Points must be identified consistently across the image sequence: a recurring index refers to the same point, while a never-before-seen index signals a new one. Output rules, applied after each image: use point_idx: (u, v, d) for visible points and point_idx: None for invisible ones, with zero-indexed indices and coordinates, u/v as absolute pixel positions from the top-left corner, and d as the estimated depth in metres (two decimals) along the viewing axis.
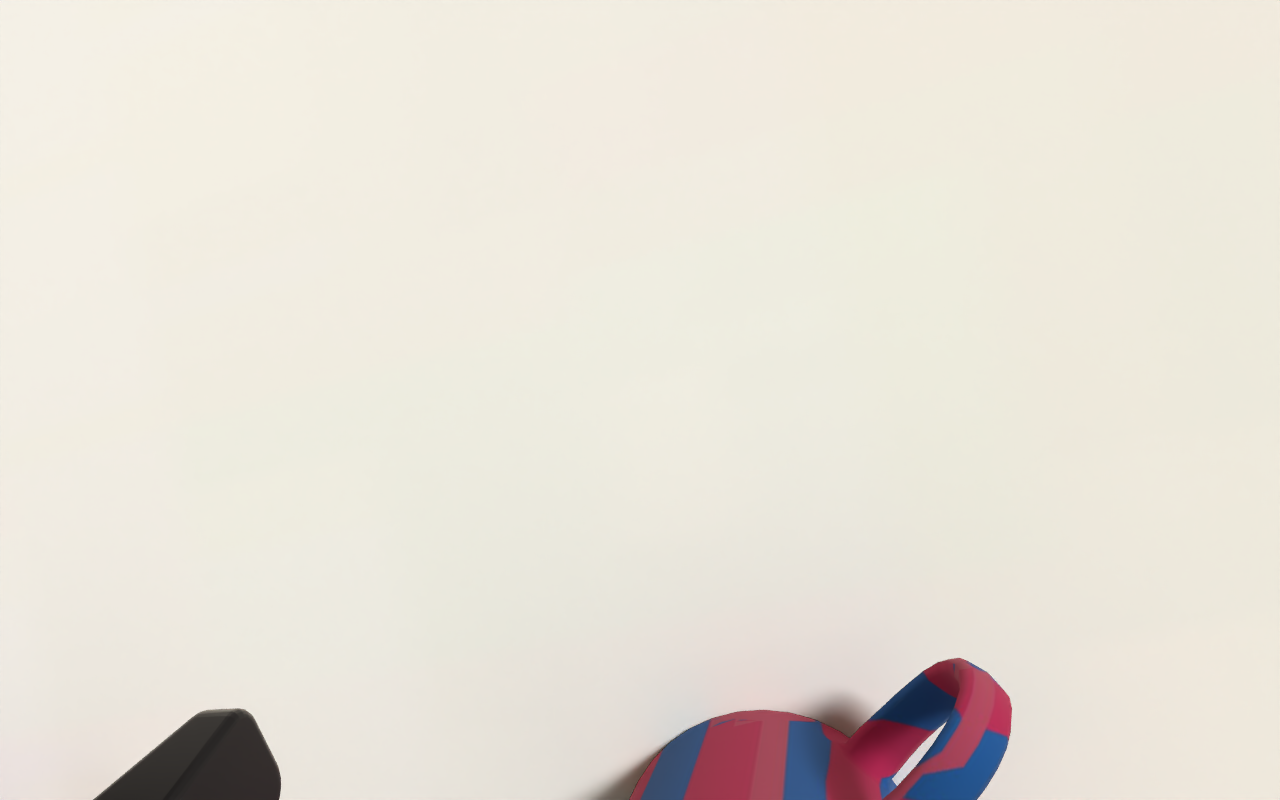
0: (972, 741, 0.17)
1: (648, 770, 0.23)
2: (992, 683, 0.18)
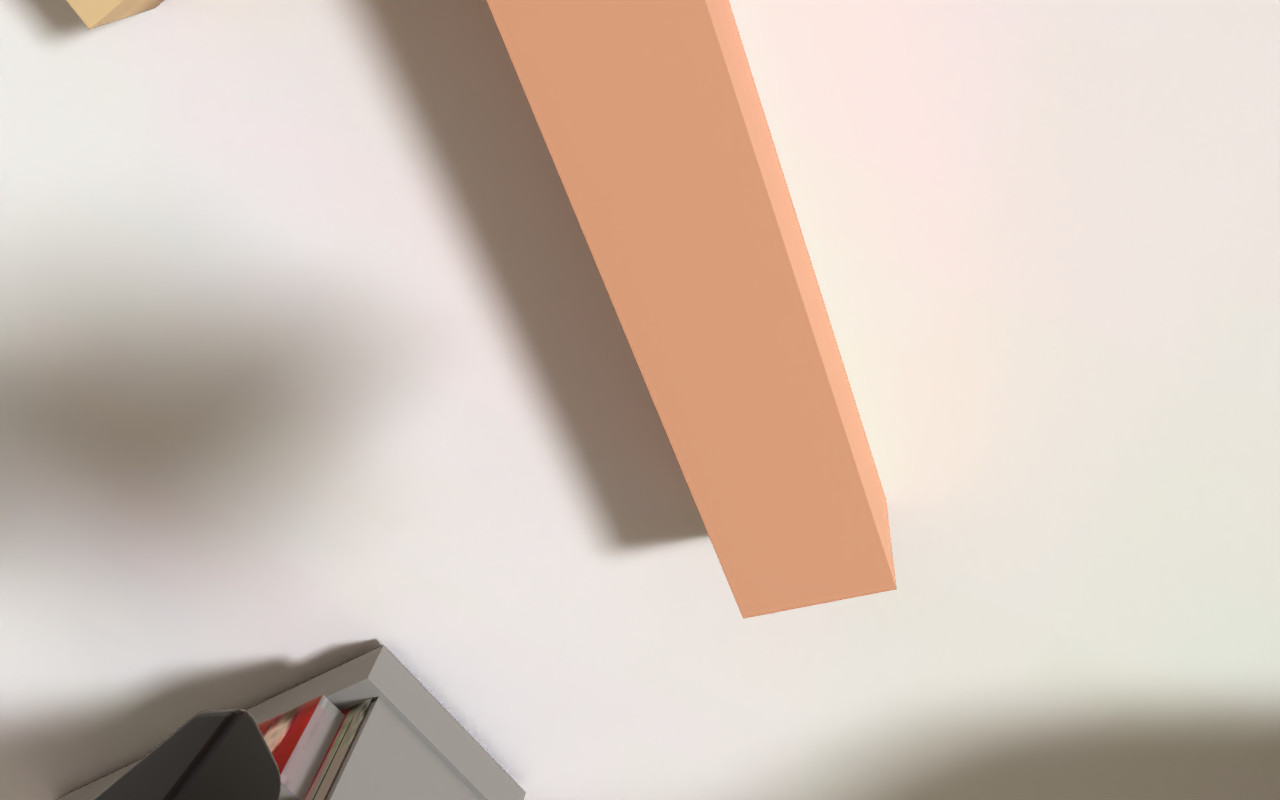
0: None
1: None
2: None
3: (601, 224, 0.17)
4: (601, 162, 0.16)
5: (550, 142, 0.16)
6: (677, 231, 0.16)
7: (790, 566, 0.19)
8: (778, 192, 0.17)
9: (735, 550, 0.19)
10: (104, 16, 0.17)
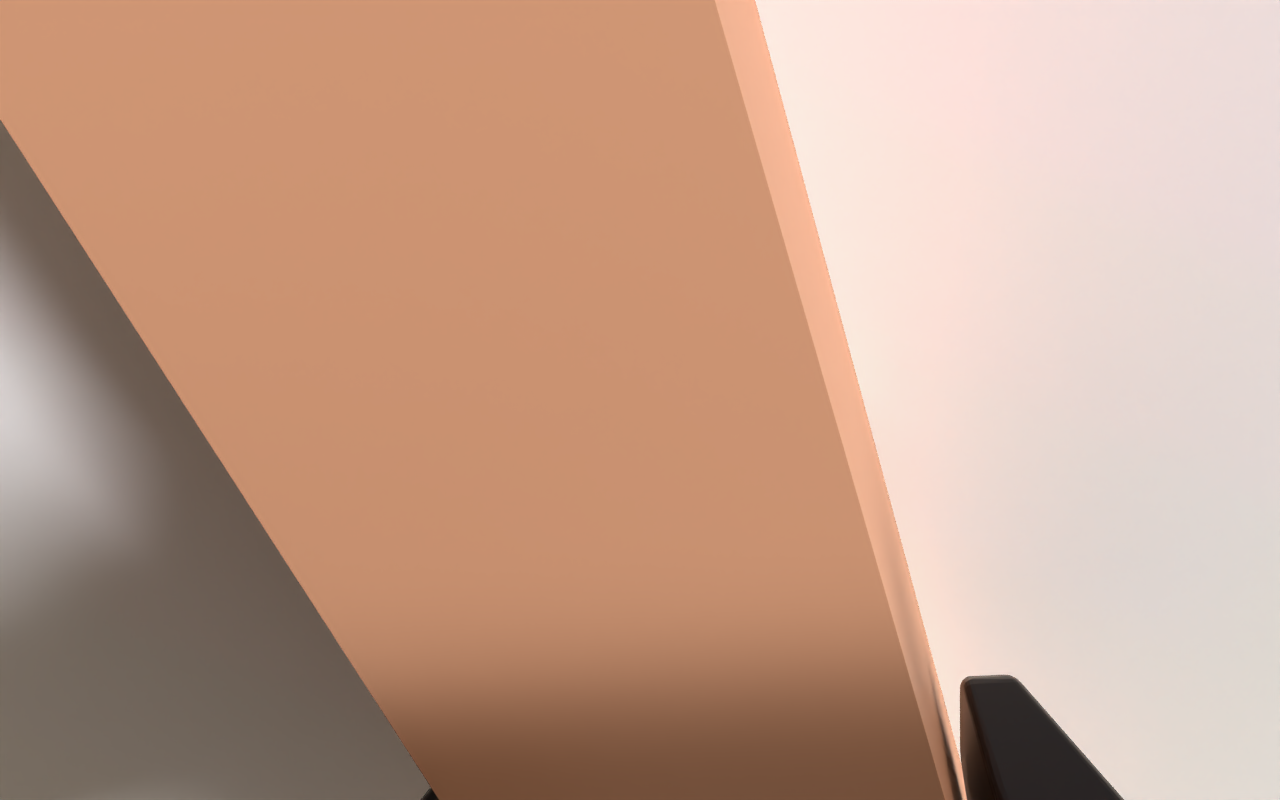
0: None
1: None
2: None
3: (312, 501, 0.05)
4: (285, 326, 0.05)
5: (104, 257, 0.05)
6: (547, 528, 0.05)
7: None
8: (841, 375, 0.06)
9: None
10: None
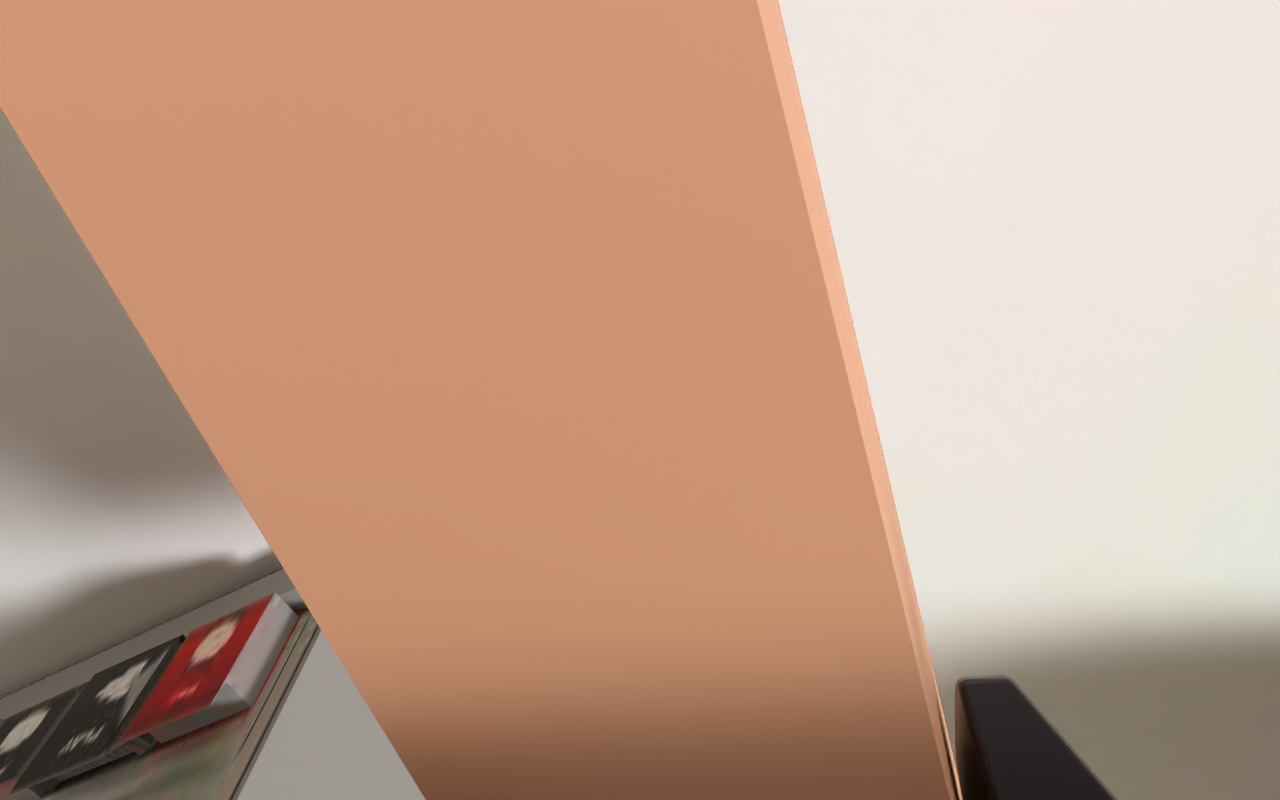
0: None
1: None
2: None
3: (312, 505, 0.05)
4: (293, 322, 0.05)
5: (101, 248, 0.04)
6: (556, 539, 0.05)
7: None
8: (859, 385, 0.06)
9: None
10: None
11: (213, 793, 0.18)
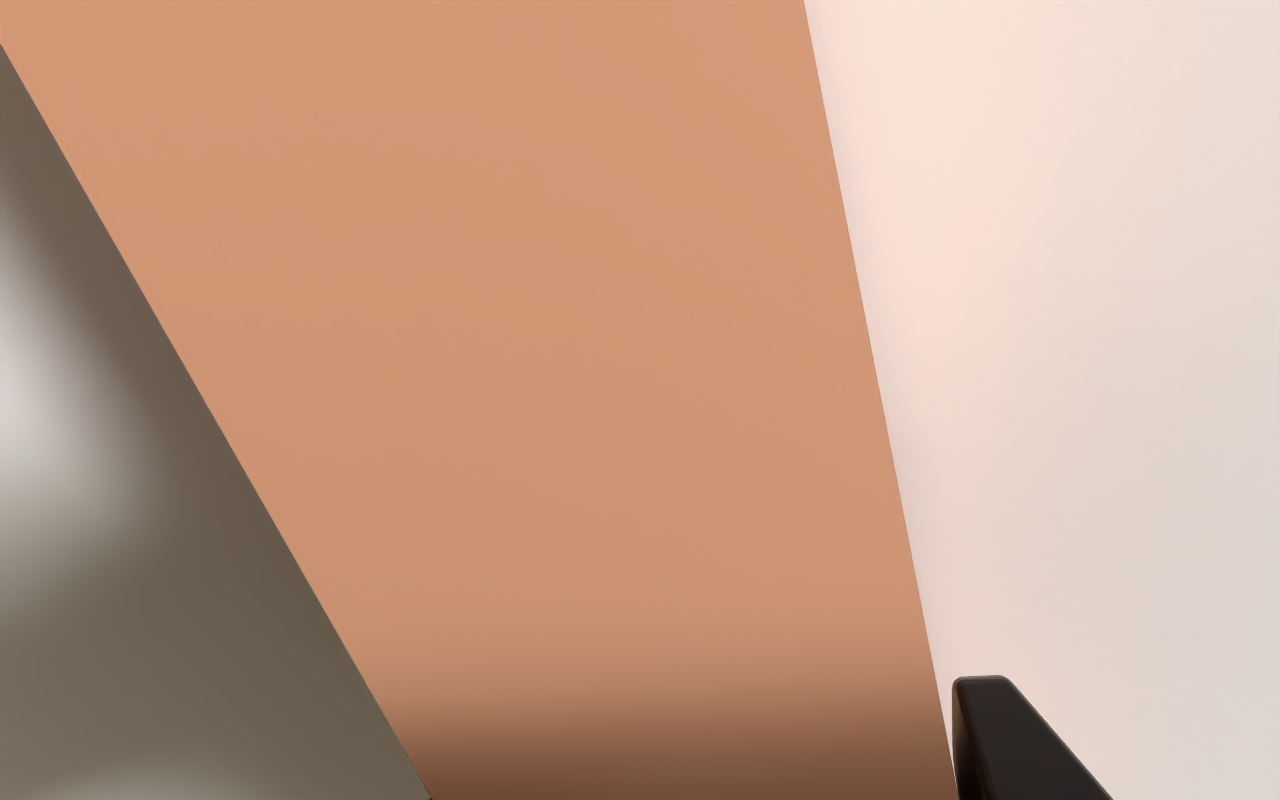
0: None
1: None
2: None
3: (329, 498, 0.05)
4: (315, 312, 0.05)
5: (123, 232, 0.04)
6: (573, 538, 0.05)
7: None
8: None
9: None
10: None
11: None
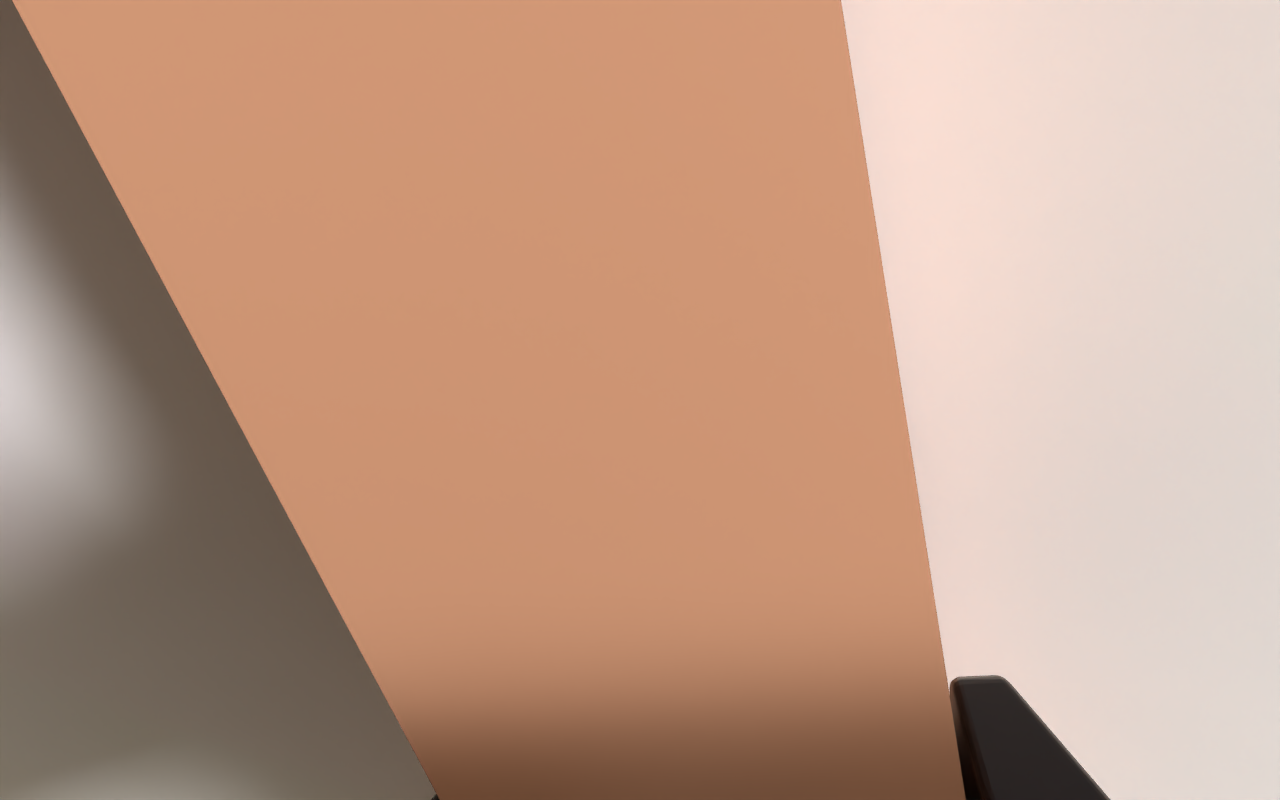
0: None
1: None
2: None
3: (347, 498, 0.05)
4: (339, 314, 0.04)
5: (150, 229, 0.04)
6: (594, 540, 0.05)
7: None
8: None
9: None
10: None
11: None
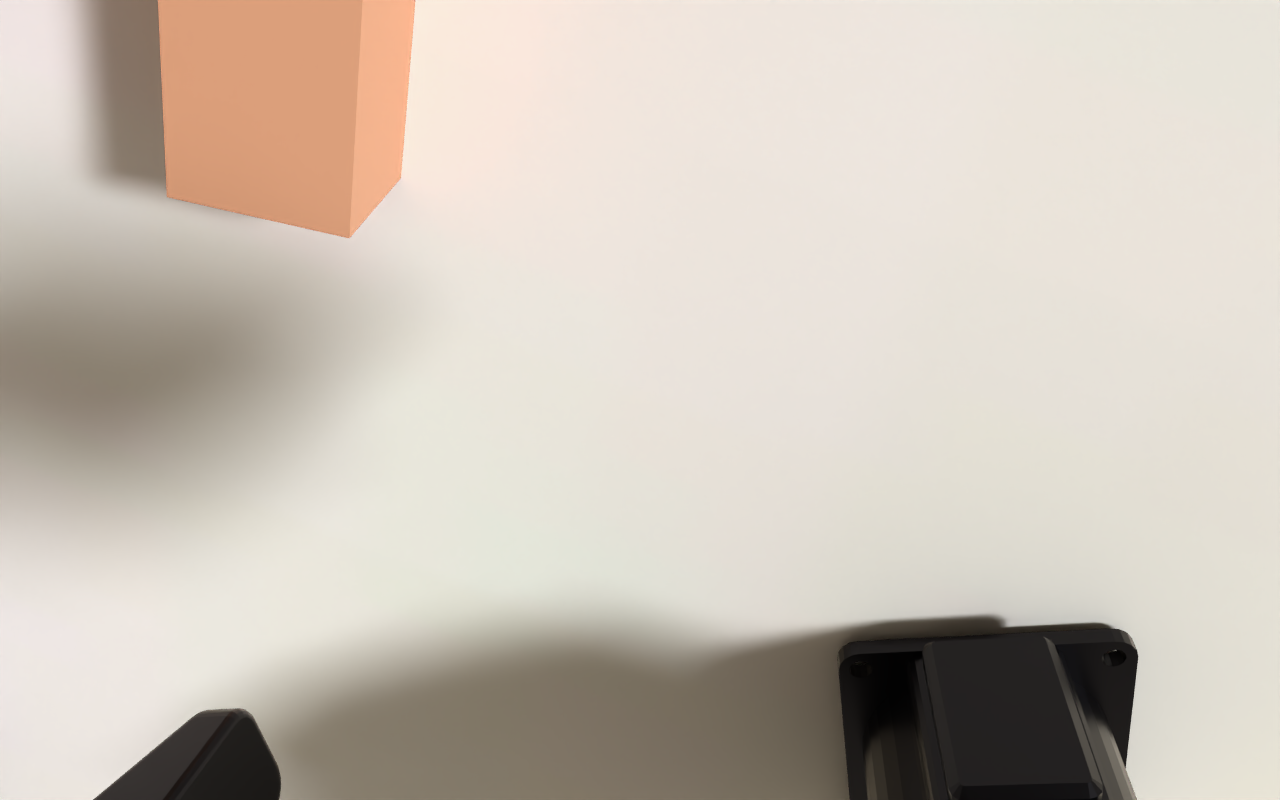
0: None
1: None
2: None
3: None
4: None
5: None
6: None
7: (243, 155, 0.16)
8: None
9: (186, 103, 0.16)
10: None
11: None
